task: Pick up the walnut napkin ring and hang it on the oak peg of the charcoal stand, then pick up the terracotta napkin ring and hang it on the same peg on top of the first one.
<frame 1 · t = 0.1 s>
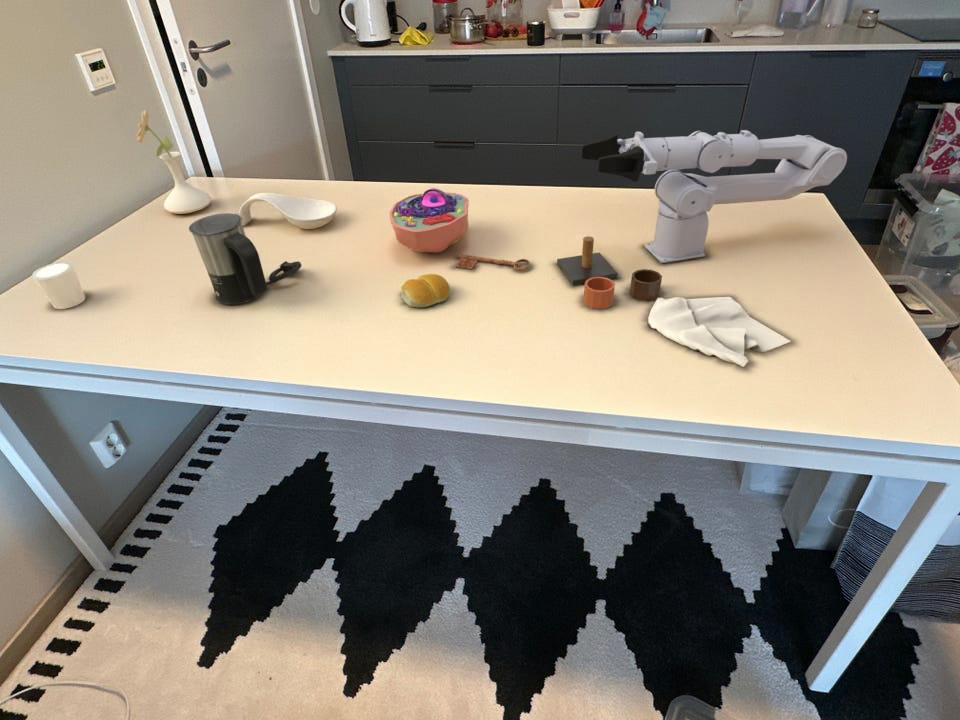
hand: (589, 158, 102), 22 cm above the table, tool horizontal, fingers open, 7 cm apart
cell model: (433, 245, 126), on the table
peg stand: (586, 271, 114), on the table
shot glass: (70, 302, 115), on the table
terracotta ring: (598, 301, 105), on the table
spoon rest: (290, 225, 139), on the table
flower in vase: (188, 210, 149), on the table
key: (492, 265, 118), on the table
milk frother: (261, 287, 116), on the table
walnut ring: (644, 293, 107), on the table
cloth: (715, 330, 97), on the table
bread roll: (425, 298, 109), on the table
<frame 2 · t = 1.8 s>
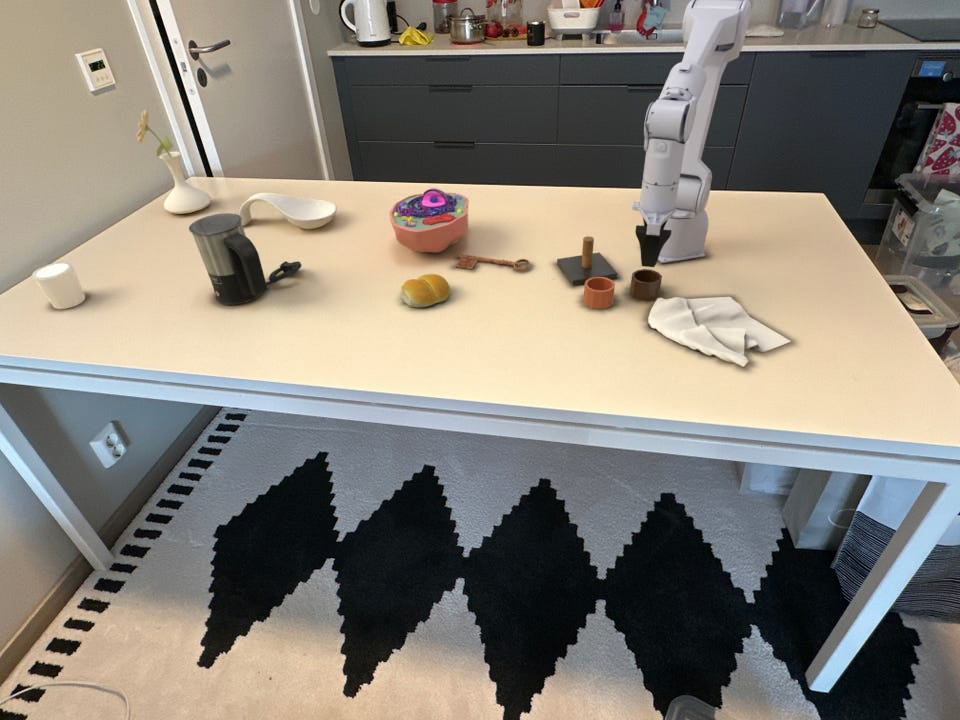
hand: (649, 255, 102), 8 cm above the table, tool pointing down, fingers open, 7 cm apart
nothing on the table moved.
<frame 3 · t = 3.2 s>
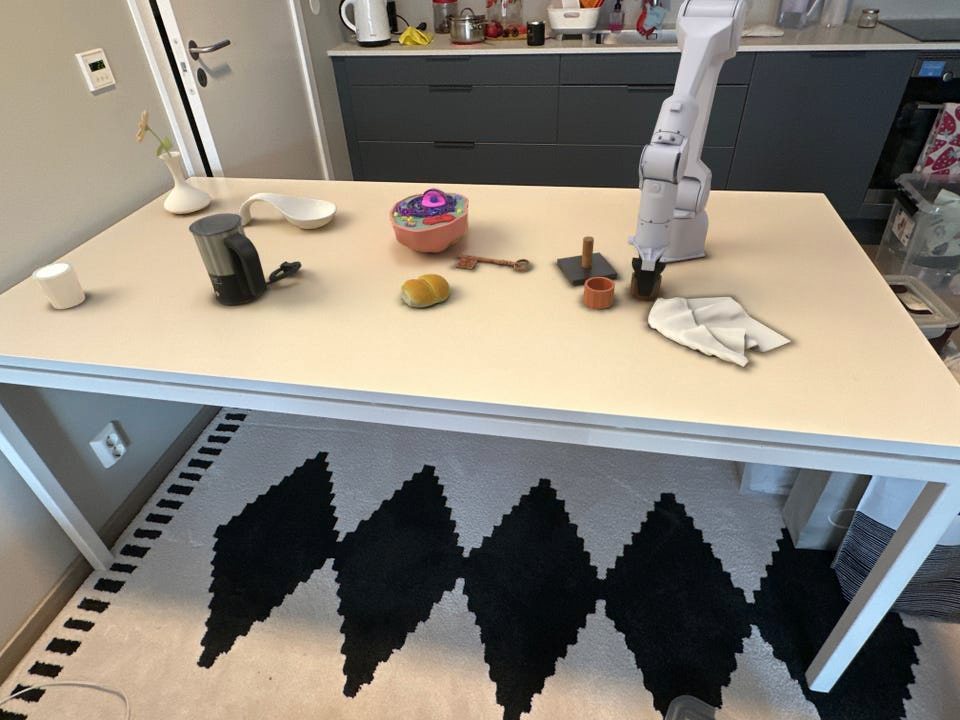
hand: (645, 286, 106), 1 cm above the table, tool pointing down, fingers closed on walnut ring, 5 cm apart
walnut ring: (644, 293, 107), on the table, touching gripper
everything else where it was.
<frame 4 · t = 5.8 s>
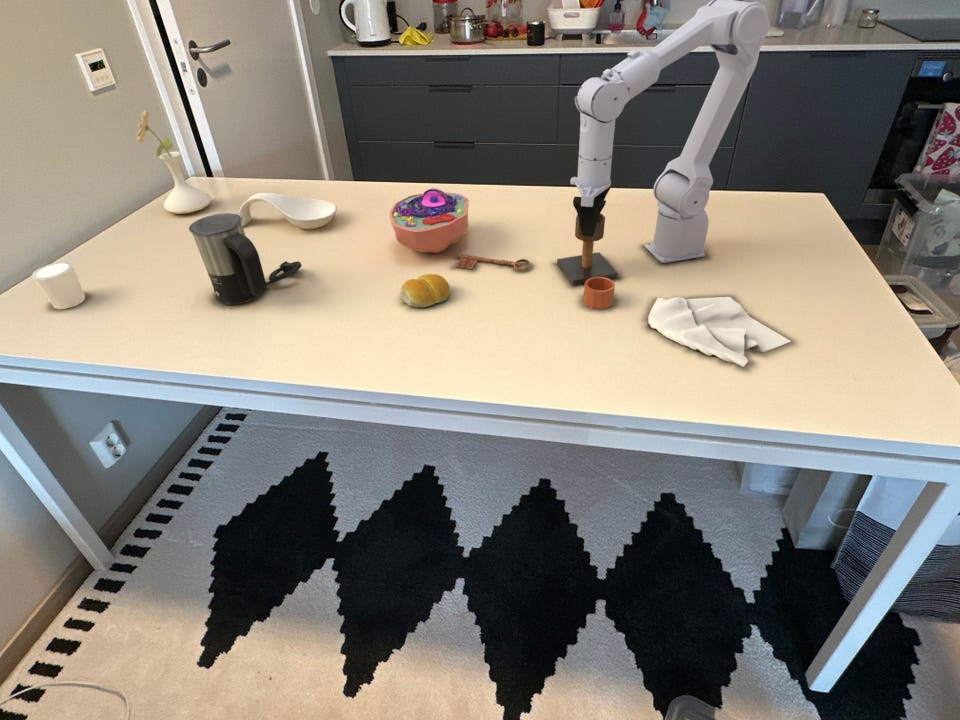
hand: (589, 228, 108), 9 cm above the table, tool pointing down, fingers closed on walnut ring, 5 cm apart
walnut ring: (589, 235, 109), point 8 cm above the table, touching gripper
everything else where it was.
when the fingers open (3 cm above the table, at t = 8.4 s): walnut ring stays where it is, resting on peg stand.
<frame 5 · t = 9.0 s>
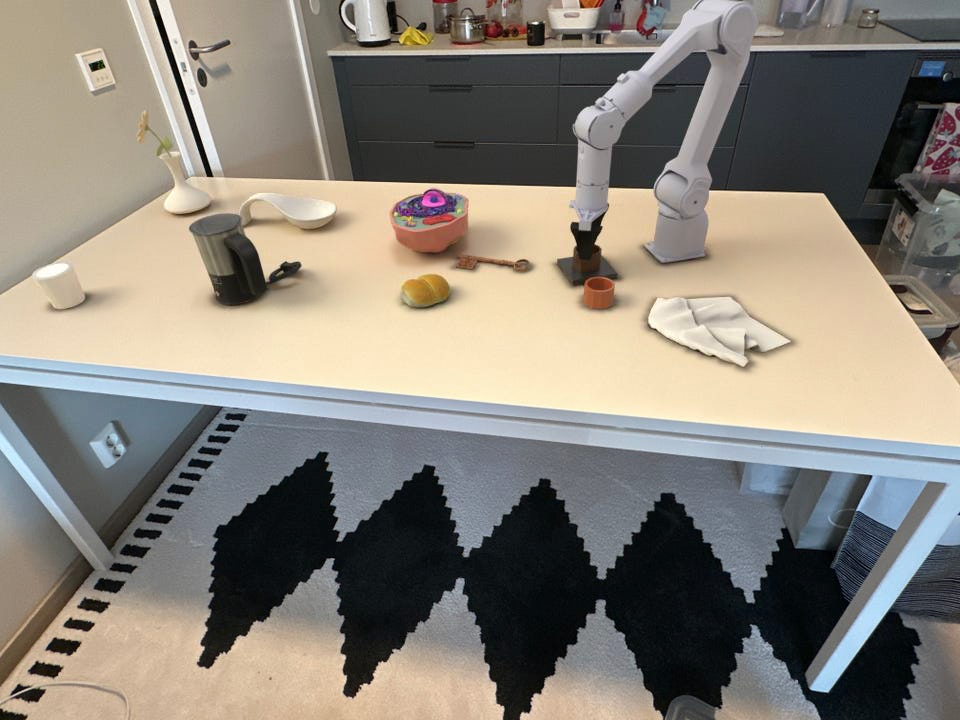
hand: (587, 249, 111), 5 cm above the table, tool pointing down, fingers open, 7 cm apart
walnut ring: (586, 265, 113), point 1 cm above the table, touching peg stand
everything else where it was.
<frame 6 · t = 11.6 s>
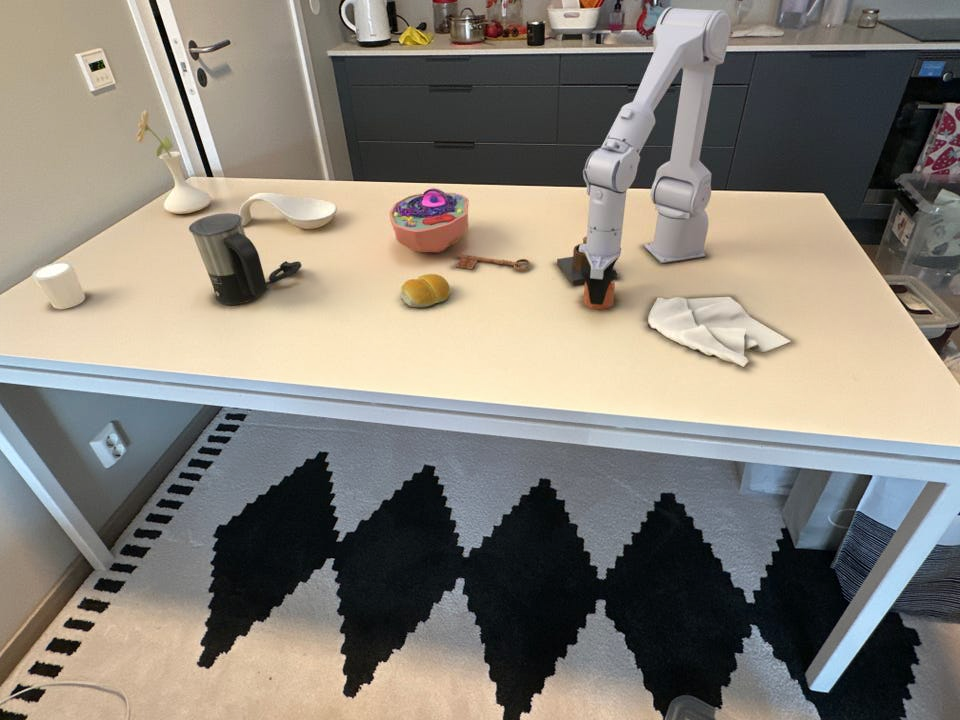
hand: (598, 294, 104), 1 cm above the table, tool pointing down, fingers closed on terracotta ring, 5 cm apart
terracotta ring: (598, 301, 105), on the table, touching gripper
everything else where it was.
when the fingers open (6 cm above the table, at t = 15.7 s): terracotta ring stays where it is, resting on walnut ring.
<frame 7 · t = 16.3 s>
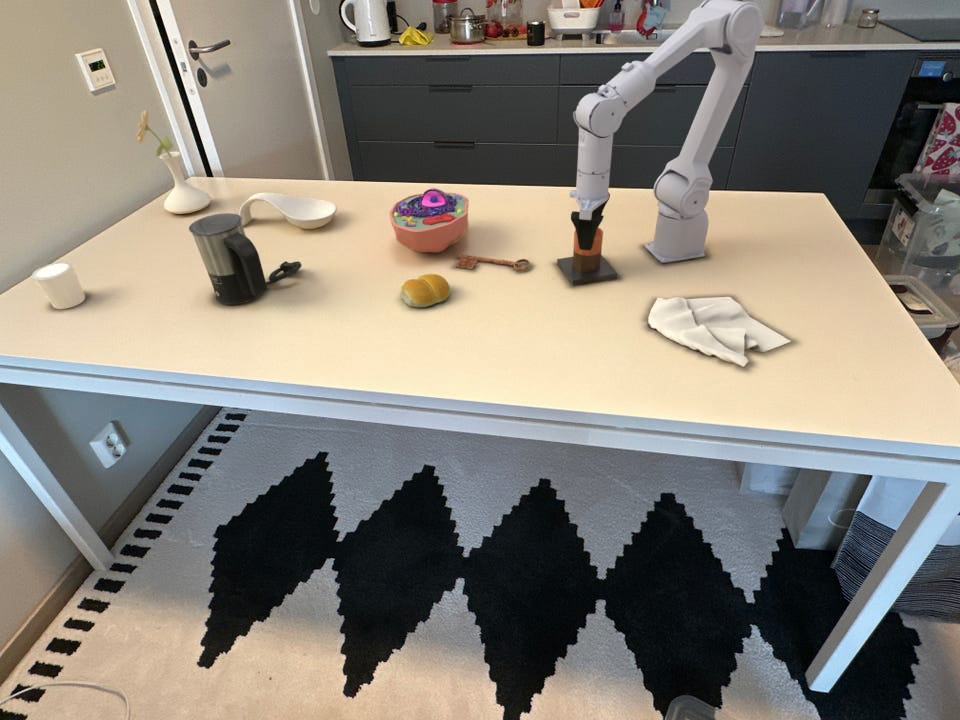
hand: (588, 240, 110), 7 cm above the table, tool pointing down, fingers open, 7 cm apart
terracotta ring: (587, 249, 111), point 5 cm above the table, touching walnut ring
walnut ring: (586, 265, 113), point 1 cm above the table, touching peg stand, terracotta ring
everything else where it was.
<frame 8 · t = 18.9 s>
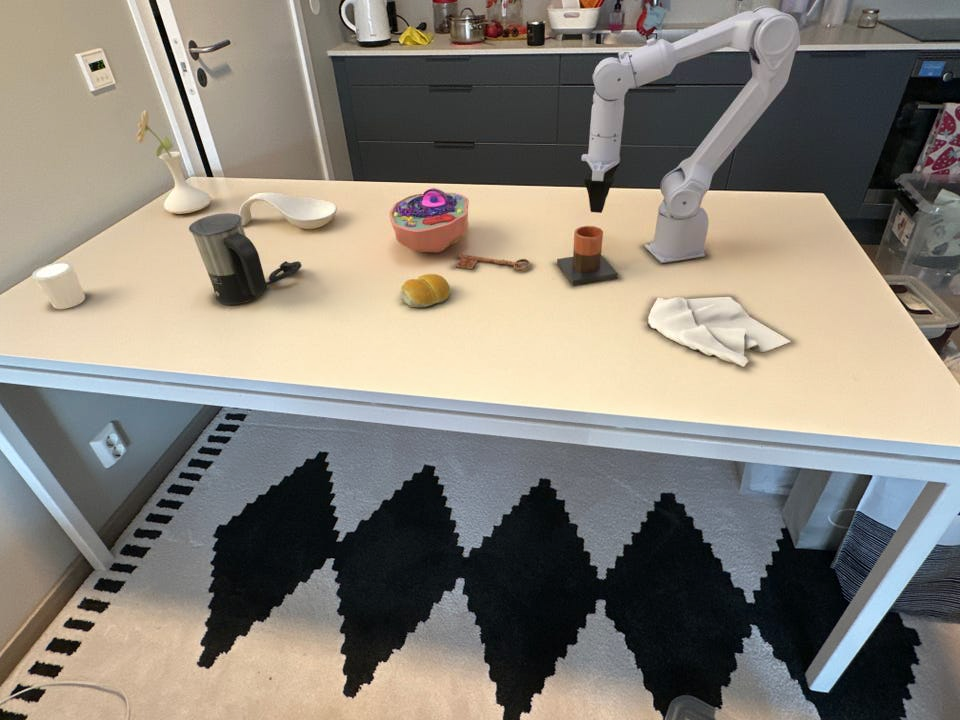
hand: (599, 203, 114), 10 cm above the table, tool pointing down, fingers open, 7 cm apart
nothing on the table moved.
at the end: walnut ring 0.0 cm off-centre on the peg stand, point 1.2 cm above the peg stand's base; terracotta ring 0.1 cm off-centre on the peg stand, point 4.8 cm above the peg stand's base; terracotta ring tilted 0° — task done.
